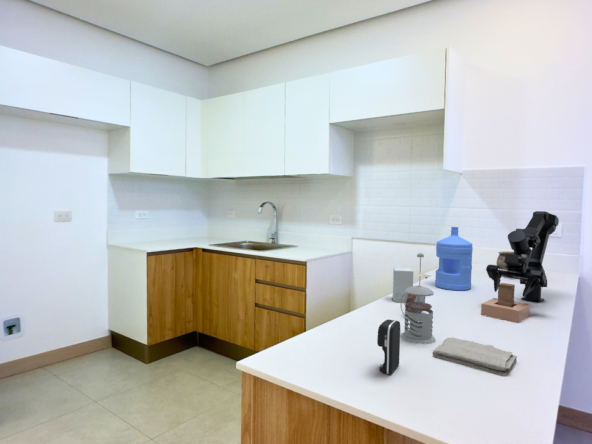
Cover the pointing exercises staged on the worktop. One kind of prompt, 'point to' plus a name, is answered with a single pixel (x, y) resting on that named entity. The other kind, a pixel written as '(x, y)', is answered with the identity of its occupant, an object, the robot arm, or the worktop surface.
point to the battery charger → (389, 344)
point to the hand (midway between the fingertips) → (508, 293)
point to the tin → (415, 300)
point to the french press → (418, 315)
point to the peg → (506, 294)
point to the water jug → (454, 262)
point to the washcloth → (476, 355)
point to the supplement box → (401, 283)
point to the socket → (505, 310)
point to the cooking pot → (502, 260)
